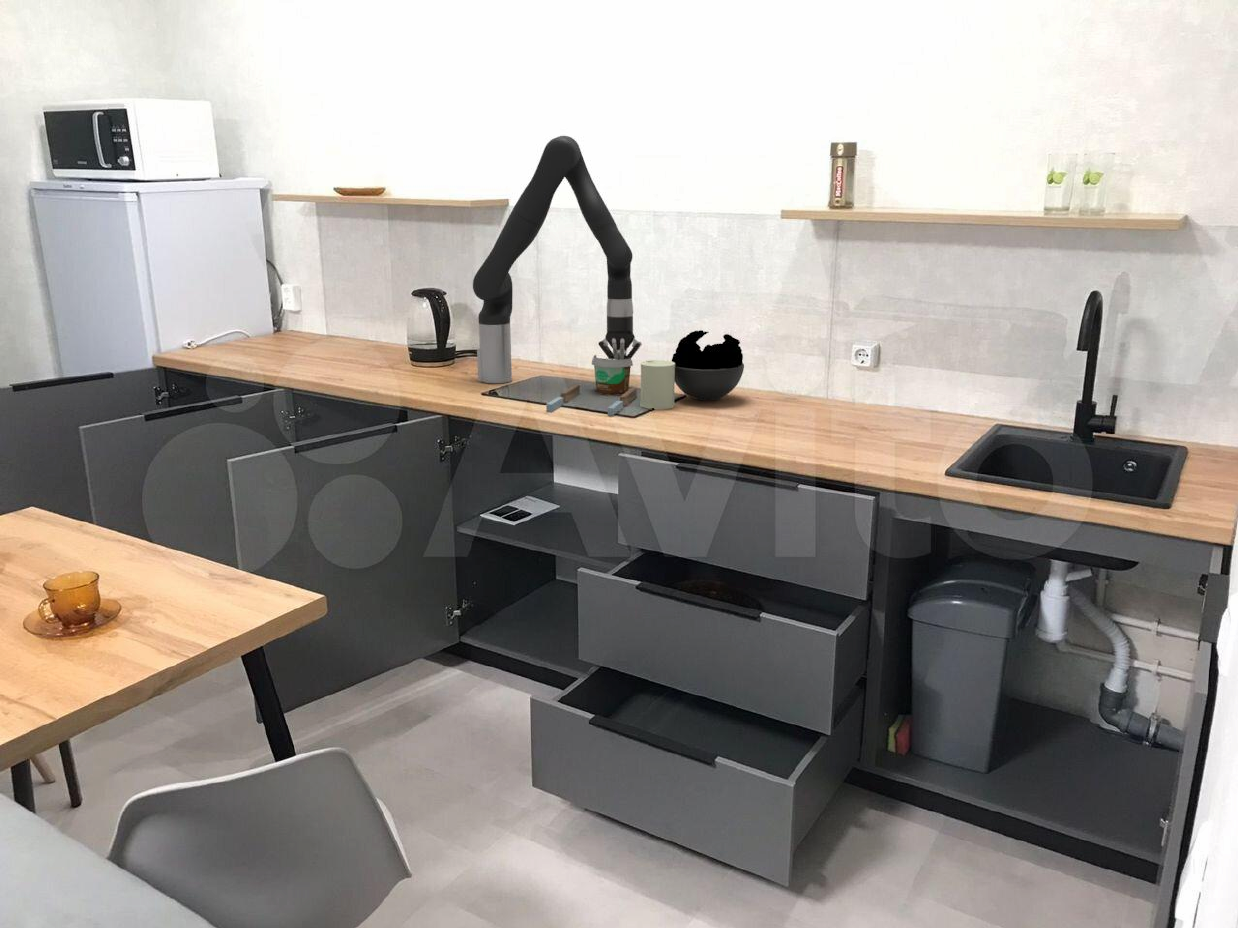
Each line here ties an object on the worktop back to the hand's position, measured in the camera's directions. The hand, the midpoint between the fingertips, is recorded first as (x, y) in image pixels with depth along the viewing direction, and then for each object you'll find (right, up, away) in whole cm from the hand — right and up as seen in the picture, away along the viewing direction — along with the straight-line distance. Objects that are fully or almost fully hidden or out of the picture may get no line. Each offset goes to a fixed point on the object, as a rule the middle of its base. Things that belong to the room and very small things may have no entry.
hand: (620, 373), depth 288 cm
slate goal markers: (-9, -12, -30) cm, 34 cm away
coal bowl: (+23, -9, -18) cm, 31 cm away
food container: (-3, -7, -10) cm, 12 cm away
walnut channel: (-6, -9, -18) cm, 21 cm away
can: (+10, -11, -25) cm, 29 cm away
